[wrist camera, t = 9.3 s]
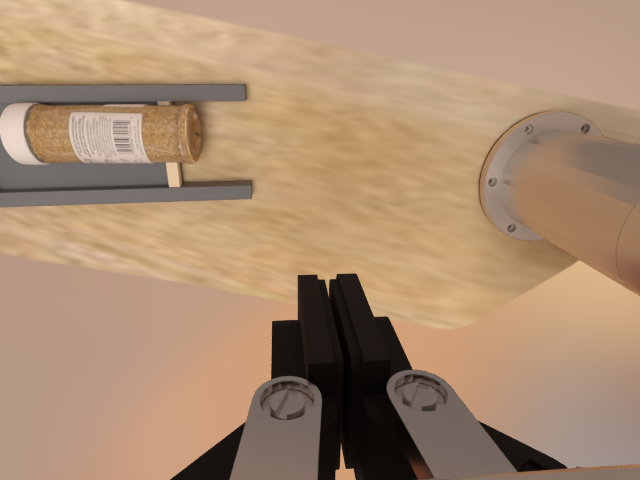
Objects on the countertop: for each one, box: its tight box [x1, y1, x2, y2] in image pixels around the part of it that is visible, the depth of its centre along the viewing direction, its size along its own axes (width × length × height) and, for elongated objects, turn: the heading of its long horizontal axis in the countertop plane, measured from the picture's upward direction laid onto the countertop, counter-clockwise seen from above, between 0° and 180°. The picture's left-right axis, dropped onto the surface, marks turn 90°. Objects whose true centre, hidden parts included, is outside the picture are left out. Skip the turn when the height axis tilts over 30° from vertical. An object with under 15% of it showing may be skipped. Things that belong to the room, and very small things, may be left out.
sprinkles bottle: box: [0, 103, 202, 165], centre depth 32 cm, size 5×5×13 cm
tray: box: [0, 84, 252, 207], centre depth 34 cm, size 22×9×3 cm, turn 90°
